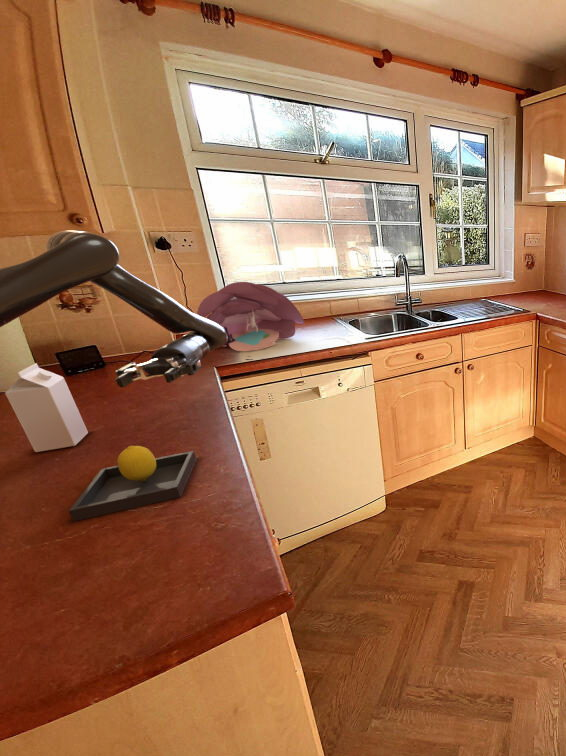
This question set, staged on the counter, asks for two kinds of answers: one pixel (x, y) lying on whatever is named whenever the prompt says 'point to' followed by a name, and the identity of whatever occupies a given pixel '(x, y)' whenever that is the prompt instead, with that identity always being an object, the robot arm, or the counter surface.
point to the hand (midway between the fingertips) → (143, 380)
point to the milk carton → (46, 409)
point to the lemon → (136, 463)
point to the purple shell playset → (251, 315)
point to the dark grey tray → (134, 487)
